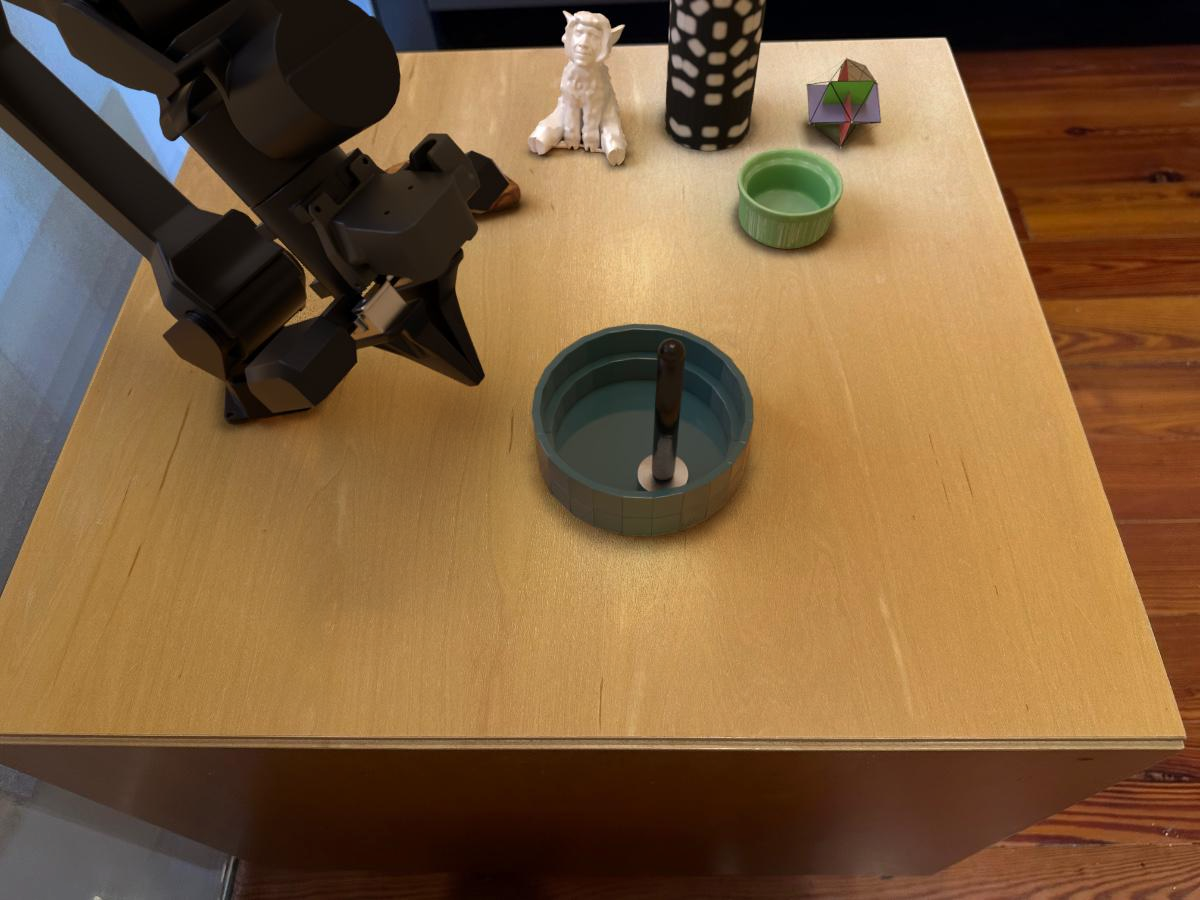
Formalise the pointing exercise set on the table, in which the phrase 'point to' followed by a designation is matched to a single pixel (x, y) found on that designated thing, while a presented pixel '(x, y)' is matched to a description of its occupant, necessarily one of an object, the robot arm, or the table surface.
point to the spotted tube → (712, 70)
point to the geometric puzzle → (845, 99)
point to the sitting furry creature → (585, 93)
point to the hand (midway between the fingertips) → (478, 382)
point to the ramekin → (788, 197)
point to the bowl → (639, 429)
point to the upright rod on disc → (666, 423)
